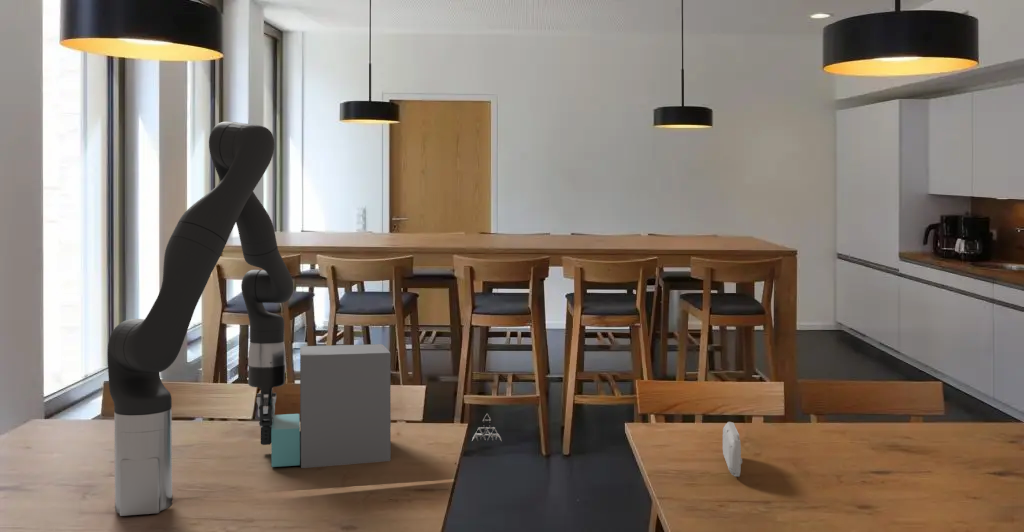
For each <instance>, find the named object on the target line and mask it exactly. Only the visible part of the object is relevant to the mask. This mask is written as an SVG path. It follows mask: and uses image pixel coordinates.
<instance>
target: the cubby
mask: <svg viewBox="0 0 1024 532" xmlns="http://www.w3.org/2000/svg"><path fill="white" fill-rule="evenodd" d="M299 361H300V362H299V364H300V365H299V367H300V368H299V371H300V372H299V373H300V375H299V376H300V377H299V380H300V382H299V387H300V388H299V395H300V396H299V400H300V401H299V403H300V404H299V407H300V409H299V410H300V411H299V420H300V431H301V459H300V467H301V469H307V468H321V467H322V468H323V467H333V466H344V465H355V464H357V465H359V464H368V463H380V462H381V463H382V462H391V458H392V457H391V455H392V454H391V442H392V441H391V438H392V437H391V425H392V424H391V421H392V420H391V419H392V418H391V412H392V411H391V406H392V405H391V352H390V351H389V349H388V348H387V347H386V346H384V344H382V343H379V344H377V343H376V344H373V343H372V344H342V345H341V344H339V345H336V344H335V345H334V344H333V345H309V346H307V345H306V346H302V345H300V346H299Z"/></svg>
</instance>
